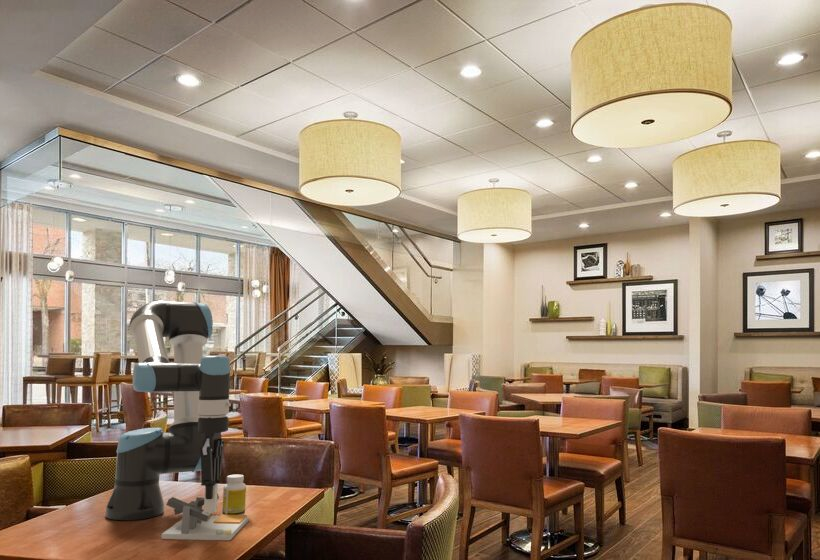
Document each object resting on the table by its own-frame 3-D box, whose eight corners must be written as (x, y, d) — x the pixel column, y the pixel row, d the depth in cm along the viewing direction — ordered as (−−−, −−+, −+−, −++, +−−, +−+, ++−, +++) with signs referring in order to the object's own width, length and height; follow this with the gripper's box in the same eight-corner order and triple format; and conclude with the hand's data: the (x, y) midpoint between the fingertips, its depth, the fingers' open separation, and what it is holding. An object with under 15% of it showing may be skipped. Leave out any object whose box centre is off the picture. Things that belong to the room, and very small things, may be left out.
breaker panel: (161, 538, 151) (163, 507, 152) (186, 519, 169) (188, 491, 170) (230, 540, 151) (231, 508, 152) (248, 520, 169) (249, 492, 170)
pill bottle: (249, 514, 175) (251, 475, 176) (234, 520, 169) (236, 478, 171) (232, 512, 178) (234, 472, 179) (217, 517, 172) (219, 476, 173)
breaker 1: (165, 505, 153) (168, 498, 154) (170, 502, 157) (173, 495, 157) (205, 522, 153) (208, 515, 153) (210, 518, 156) (212, 512, 156)
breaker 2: (175, 515, 158) (173, 508, 159) (179, 511, 162) (177, 505, 162) (215, 501, 159) (213, 494, 159) (219, 498, 162) (217, 491, 162)
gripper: (220, 418, 151) (217, 518, 148) (235, 413, 164) (232, 504, 161) (189, 418, 151) (186, 518, 148) (207, 413, 164) (204, 505, 161)
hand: (210, 511), depth 154 cm, fingers closed
